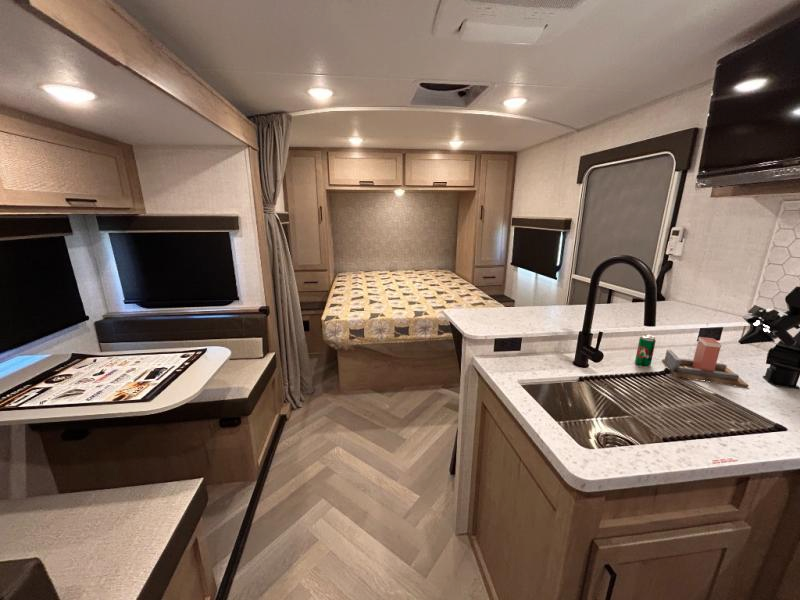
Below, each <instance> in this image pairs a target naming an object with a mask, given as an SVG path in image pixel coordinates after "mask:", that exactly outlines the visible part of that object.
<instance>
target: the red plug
mask: <svg viewBox="0 0 800 600" xmlns="http://www.w3.org/2000/svg"><path fill="white" fill-rule="evenodd" d="M697 340H698V341H697V345H696V347H695V353H694V356H693V359H692V360H693V364H692V366H693V367H694V368H695V369H703V370H710V371H714V370H715V366H716V363H718V362H717V361H718V358H719V354H720V352H721V348H722V344H721V343H720V341H717V340H716V339H715V338H713V337H703V336H699V337H698V339H697Z"/></svg>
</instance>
